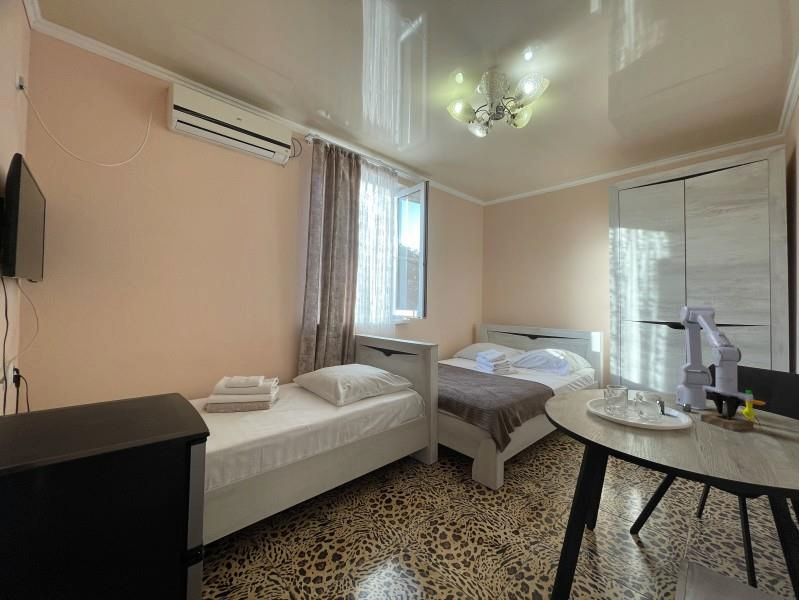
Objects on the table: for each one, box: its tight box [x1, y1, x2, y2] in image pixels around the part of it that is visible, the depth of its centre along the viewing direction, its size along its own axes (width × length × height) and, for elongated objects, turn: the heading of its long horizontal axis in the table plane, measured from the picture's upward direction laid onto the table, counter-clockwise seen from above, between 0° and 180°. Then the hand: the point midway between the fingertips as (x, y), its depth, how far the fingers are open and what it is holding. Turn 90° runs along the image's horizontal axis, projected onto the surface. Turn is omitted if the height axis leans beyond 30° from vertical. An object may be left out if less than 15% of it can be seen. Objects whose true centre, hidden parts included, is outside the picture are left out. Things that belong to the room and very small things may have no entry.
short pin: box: [682, 403, 692, 413], centre depth 136 cm, size 3×3×3 cm
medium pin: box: [655, 399, 665, 415], centre depth 133 cm, size 3×3×5 cm
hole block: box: [700, 412, 755, 431], centre depth 121 cm, size 10×10×2 cm
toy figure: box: [739, 390, 766, 425], centre depth 123 cm, size 7×4×12 cm, turn 29°
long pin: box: [722, 401, 732, 420], centre depth 121 cm, size 3×3×8 cm
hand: (726, 415), depth 121 cm, fingers closed on long pin, 2 cm apart
